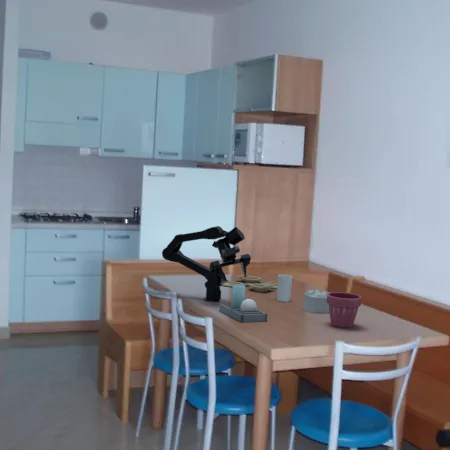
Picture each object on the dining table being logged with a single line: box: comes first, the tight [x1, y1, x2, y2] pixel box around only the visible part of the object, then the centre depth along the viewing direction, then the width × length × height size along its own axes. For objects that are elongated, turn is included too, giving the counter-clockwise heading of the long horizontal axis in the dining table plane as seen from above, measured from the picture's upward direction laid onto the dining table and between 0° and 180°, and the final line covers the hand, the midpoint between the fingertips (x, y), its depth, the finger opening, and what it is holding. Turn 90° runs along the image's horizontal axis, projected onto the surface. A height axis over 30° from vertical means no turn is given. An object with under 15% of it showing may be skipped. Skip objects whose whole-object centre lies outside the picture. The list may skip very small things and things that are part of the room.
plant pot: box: [327, 291, 362, 328], centre depth 293 cm, size 14×14×13 cm
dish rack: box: [219, 303, 268, 323], centre depth 298 cm, size 21×12×3 cm, turn 25°
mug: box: [276, 274, 293, 303], centre depth 338 cm, size 10×7×12 cm, turn 15°
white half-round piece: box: [240, 298, 258, 311], centre depth 297 cm, size 1×7×7 cm, turn 116°
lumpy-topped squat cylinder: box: [303, 289, 329, 314], centre depth 320 cm, size 10×13×9 cm
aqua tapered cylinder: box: [230, 284, 247, 309], centre depth 302 cm, size 6×6×12 cm
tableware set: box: [221, 273, 278, 293], centre depth 369 cm, size 35×29×4 cm
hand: (236, 278), depth 313 cm, fingers open, 9 cm apart
